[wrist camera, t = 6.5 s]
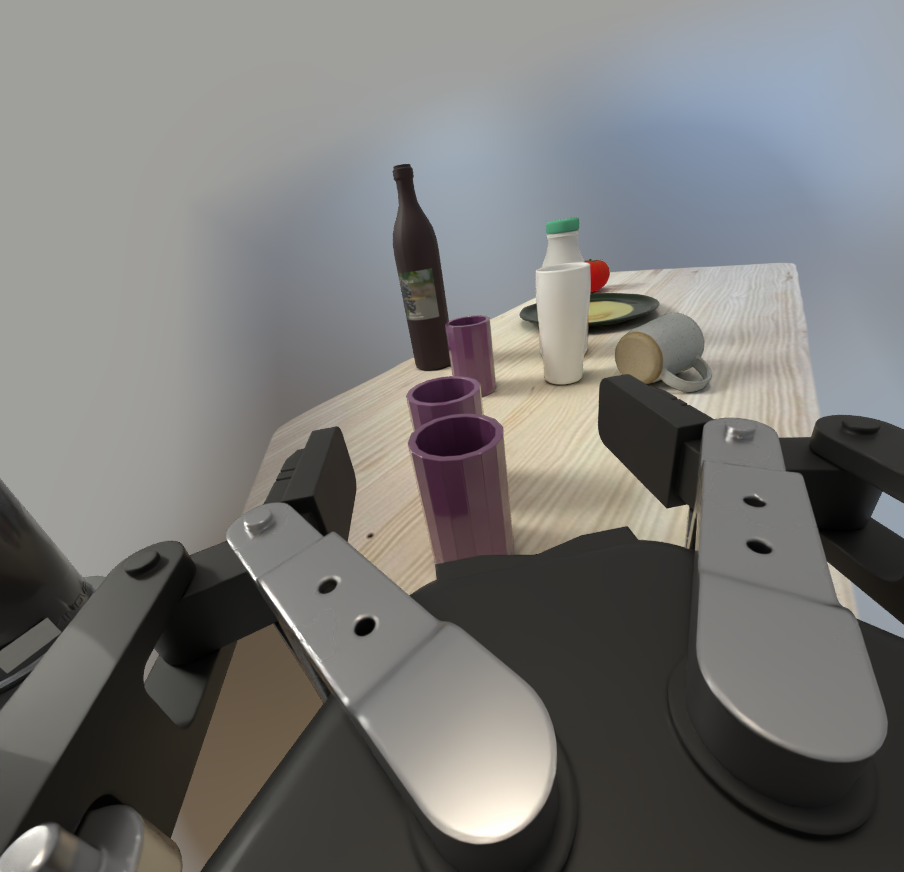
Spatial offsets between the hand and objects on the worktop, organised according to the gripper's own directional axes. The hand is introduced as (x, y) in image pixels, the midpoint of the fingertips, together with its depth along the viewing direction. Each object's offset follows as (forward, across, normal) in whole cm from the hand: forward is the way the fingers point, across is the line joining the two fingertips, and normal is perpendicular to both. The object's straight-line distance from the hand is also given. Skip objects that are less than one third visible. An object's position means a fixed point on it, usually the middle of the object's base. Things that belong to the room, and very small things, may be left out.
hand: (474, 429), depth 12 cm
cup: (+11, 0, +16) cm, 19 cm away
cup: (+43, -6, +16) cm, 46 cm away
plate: (+72, -35, +16) cm, 82 cm away
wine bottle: (+58, -1, +16) cm, 60 cm away
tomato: (+99, -48, +16) cm, 111 cm away
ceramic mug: (+34, -29, +16) cm, 48 cm away
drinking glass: (+41, -18, +16) cm, 47 cm away
